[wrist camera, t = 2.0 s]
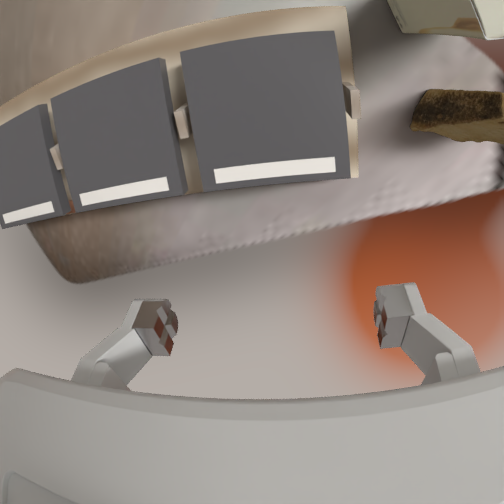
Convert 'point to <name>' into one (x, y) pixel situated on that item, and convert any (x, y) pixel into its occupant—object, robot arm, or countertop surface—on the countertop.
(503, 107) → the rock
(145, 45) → the switch panel
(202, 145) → the rocker
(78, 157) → the panel
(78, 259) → the countertop surface
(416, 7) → the skincare box
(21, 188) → the panel
